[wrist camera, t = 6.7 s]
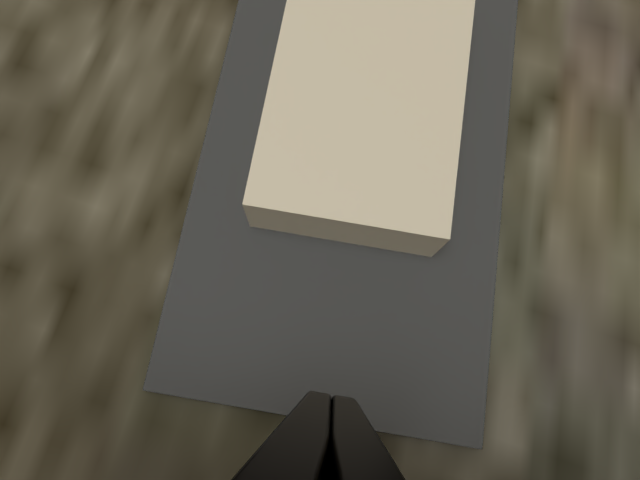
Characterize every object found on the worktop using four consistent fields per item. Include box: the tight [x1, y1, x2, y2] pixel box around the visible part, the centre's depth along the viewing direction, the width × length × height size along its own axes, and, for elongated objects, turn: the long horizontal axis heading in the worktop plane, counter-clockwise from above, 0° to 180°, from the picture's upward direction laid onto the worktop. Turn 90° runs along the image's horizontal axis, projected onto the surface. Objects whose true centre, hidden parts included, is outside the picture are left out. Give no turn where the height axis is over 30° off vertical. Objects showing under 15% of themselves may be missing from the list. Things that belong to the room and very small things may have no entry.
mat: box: [143, 0, 518, 449], centre depth 21 cm, size 20×12×1 cm, turn 170°
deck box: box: [242, 0, 475, 257], centre depth 20 cm, size 3×7×11 cm
